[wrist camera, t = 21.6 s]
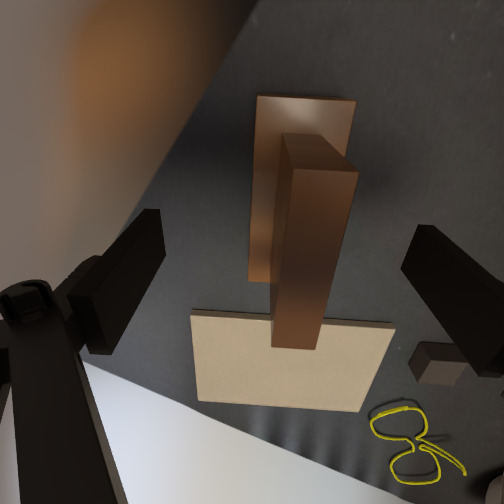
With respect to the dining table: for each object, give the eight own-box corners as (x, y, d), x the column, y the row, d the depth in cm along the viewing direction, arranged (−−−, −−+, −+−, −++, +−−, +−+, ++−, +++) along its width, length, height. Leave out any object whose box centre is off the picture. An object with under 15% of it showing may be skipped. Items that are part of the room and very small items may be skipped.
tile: (199, 393, 39) (197, 400, 38) (192, 309, 31) (189, 315, 30) (356, 405, 39) (358, 412, 38) (392, 322, 30) (396, 329, 29)
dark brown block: (408, 364, 34) (417, 383, 32) (420, 341, 32) (431, 360, 29) (441, 366, 34) (453, 385, 32) (455, 344, 32) (469, 363, 29)
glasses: (361, 405, 39) (372, 444, 34) (437, 390, 36) (459, 429, 32) (395, 479, 50) (407, 514, 46) (455, 471, 47) (473, 508, 43)
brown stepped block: (311, 263, 27) (339, 375, 17) (249, 259, 27) (238, 368, 17) (343, 97, 19) (428, 114, 9) (258, 93, 20) (248, 104, 9)
